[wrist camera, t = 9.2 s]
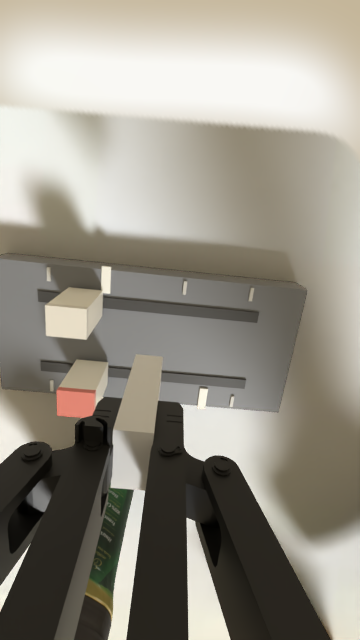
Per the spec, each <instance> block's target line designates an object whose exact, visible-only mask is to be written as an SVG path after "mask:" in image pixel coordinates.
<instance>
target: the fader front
mask: <svg viewBox="0 0 360 640" xmlns="http://www.w3.org/2000/svg"><path fill="white" fill-rule="evenodd" d="M102 309H103V290H93V289H83V288H72V287H68V288H67V289H66V290H64V291H63V292H62V293H60V294H59V295H58V296H56V297H55V298H54V299H53V300H51V301H50V302H49V303H47V304H46V305H45V321H46V336H52V337H63V338H74V339H85V340H87V338H88V337H89V335H90V334H91V332H92V331H93V329H94V328H95V326H96V325H97V323H98V322H99V320H100V319H101V317H102Z"/></svg>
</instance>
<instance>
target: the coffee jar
mask: <svg viewBox="0 0 360 640" xmlns="http://www.w3.org/2000/svg"><path fill="white" fill-rule="evenodd" d="M133 491H134V490H132V489H120V488H111V482H110V486H109V491H108V502H107V506H106V510H105V515H104V519H103V523H102V527H101V531H100V535H99V539H98V543H97V547H96V551H95V555H94V560H93V564H92V568H91V572H90V576H89V580H88V584H87V588H86V592H85V596H84V600H83V604H82V609H81V613H80V617H79V621H78V625H77V629H76V633H75V637H74V640H108V636H109V631H110V627H111V621H112V615H113V591H114V583H115V577H116V571H117V566H118V561H119V556H120V551H121V546H122V542H123V536H124V531H125V527H126V522H127V518H128V513H129V509H130V505H131V500H132V496H133Z"/></svg>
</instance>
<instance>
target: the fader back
mask: <svg viewBox="0 0 360 640" xmlns="http://www.w3.org/2000/svg"><path fill="white" fill-rule="evenodd" d="M107 384H108V362H100V361H89V360H78V359H77V360H76V361H75V363H74V364H73V366H72V367H71V369H70V370H69V372H68V373H67V375H66V376H65V378H64V380H63V381H62V383H61V384H60V386H59V387H58V389H57V416H66V417H79V418H84V417H88V416H92V415H93V412H94V411H95V408H96V405H97V403H98V402H99V401H100V400H101V399H102V397H103V394H104V392H105V389H106V387H107Z"/></svg>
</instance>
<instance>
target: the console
mask: <svg viewBox="0 0 360 640" xmlns="http://www.w3.org/2000/svg"><path fill="white" fill-rule="evenodd" d="M68 287H72V288H83V289H93V290H103V309H102V317H101V319H100V320H99V322H98V323H97V325H96V326H95V328H94V329H93V331H92V332H91V334H90V335H89V337H88V338H87V340H85V339H74V338H63V337H52V336H46V321H45V305H46V304H47V303H49V302H50V301H51V300H53V299H54V298H55V297H56V296H58V295H59V294H60V293H62V292H63V291H64V290H66V289H67V288H68ZM306 295H307V289H305V288H304V287H302V286H301V285H299V284H298V283H295V282H286V281H276V280H266V279H256V278H246V277H237V276H227V275H217V274H207V273H197V272H188V271H178V270H168V269H158V268H149V267H139V266H129V265H119V264H109V263H100V262H90V261H80V260H70V259H60V258H51V257H41V256H31V255H21V254H12V253H6V254H3V255H0V373H1V385H2V389H11V390H23V391H35V392H46V393H57V389H58V387H59V386H60V384H61V383H62V381H63V380H64V378H65V376H66V375H67V373H68V372H69V370H70V369H71V367H72V366H73V364H74V363H75V361H76V360H77V359H78V360H89V361H100V362H108V384H107V387H106V389H105V392H104V394H103V397H115V398H123V395H124V392H125V389H126V385H127V382H128V379H129V375H130V372H131V369H132V366H133V362H134V359H135V356H136V354H138V355H149V356H160V357H163V361H162V372H161V383H160V393H159V401H169V402H179V404H186V405H197V409H202V410H205V406H209V407H221V408H233V409H244V410H256V411H268V412H279V408H280V404H281V399H282V395H283V391H284V387H285V383H286V378H287V374H288V370H289V366H290V362H291V357H292V353H293V349H294V345H295V341H296V337H297V332H298V328H299V324H300V320H301V316H302V311H303V307H304V303H305V299H306Z"/></svg>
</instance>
